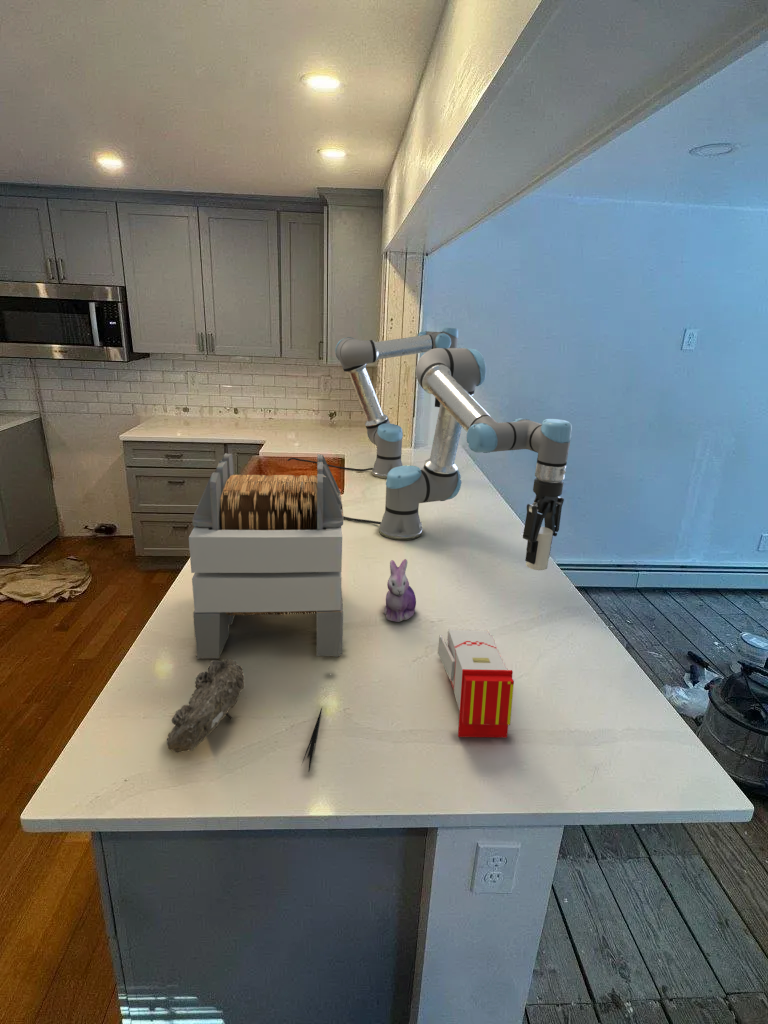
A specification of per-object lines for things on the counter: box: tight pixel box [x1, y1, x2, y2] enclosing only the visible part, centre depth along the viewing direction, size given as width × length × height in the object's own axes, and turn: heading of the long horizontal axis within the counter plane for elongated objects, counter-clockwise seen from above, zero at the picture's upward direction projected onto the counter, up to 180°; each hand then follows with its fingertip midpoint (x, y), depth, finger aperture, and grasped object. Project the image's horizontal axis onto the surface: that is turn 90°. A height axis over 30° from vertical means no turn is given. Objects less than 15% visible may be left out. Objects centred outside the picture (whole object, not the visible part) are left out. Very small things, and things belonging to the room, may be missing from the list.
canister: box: [525, 526, 553, 571], centre depth 156 cm, size 6×6×11 cm
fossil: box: [166, 658, 245, 754], centre depth 106 cm, size 22×10×15 cm
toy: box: [437, 628, 515, 738], centre depth 117 cm, size 12×13×30 cm
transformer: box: [188, 452, 345, 660], centre depth 135 cm, size 34×33×41 cm
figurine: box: [384, 558, 417, 623], centre depth 145 cm, size 9×10×15 cm
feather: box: [301, 673, 332, 771], centre depth 108 cm, size 2×28×2 cm
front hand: (537, 559), depth 157 cm, fingers closed on canister, 6 cm apart
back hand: (444, 405), depth 281 cm, fingers open, 13 cm apart
